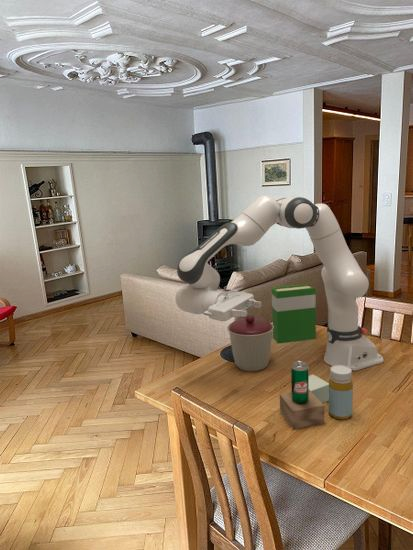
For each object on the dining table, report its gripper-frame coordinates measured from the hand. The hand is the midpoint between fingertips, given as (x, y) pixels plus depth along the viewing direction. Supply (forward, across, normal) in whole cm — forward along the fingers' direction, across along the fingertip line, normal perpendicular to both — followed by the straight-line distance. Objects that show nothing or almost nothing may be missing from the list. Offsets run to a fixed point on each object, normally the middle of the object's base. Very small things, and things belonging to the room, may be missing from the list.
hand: (253, 309), depth 131 cm
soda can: (+17, -4, +26) cm, 31 cm away
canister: (-13, +22, +32) cm, 41 cm away
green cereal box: (-9, +55, +32) cm, 64 cm away
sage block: (+16, +9, +32) cm, 37 cm away
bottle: (+27, +4, +32) cm, 42 cm away
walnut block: (+17, -3, +32) cm, 36 cm away
